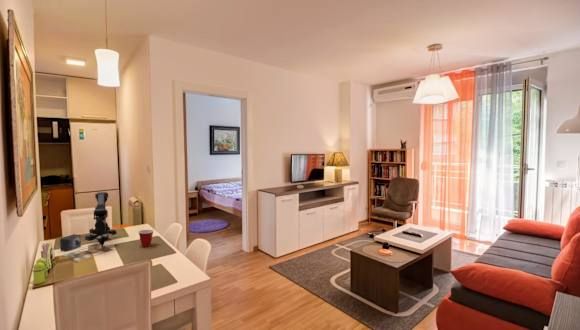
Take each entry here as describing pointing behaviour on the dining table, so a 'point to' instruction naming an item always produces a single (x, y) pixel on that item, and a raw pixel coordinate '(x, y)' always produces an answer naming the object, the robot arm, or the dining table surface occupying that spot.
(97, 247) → the maple block
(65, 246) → the small box
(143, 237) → the plastic cup
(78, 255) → the trap deck
